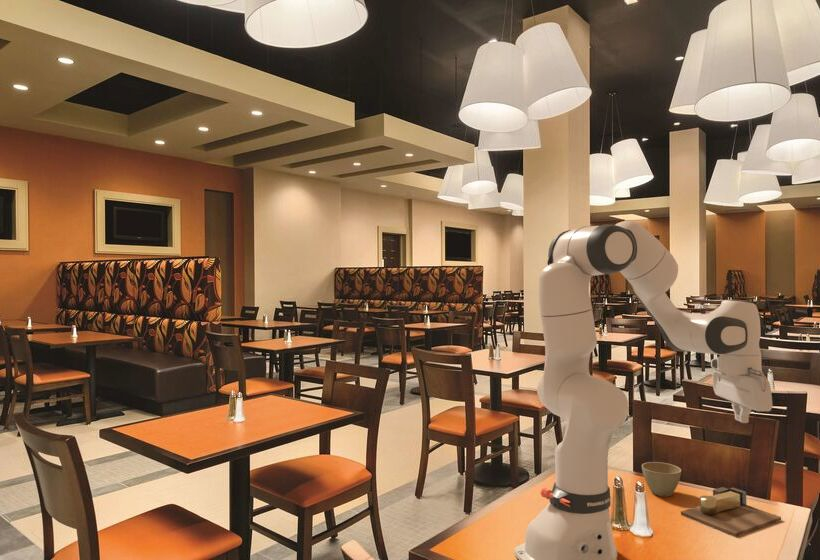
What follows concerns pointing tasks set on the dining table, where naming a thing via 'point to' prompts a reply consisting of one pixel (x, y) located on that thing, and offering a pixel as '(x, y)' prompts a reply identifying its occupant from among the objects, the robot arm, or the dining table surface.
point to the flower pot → (661, 477)
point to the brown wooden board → (733, 519)
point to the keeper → (742, 493)
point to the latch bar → (719, 502)
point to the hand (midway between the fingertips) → (741, 421)
